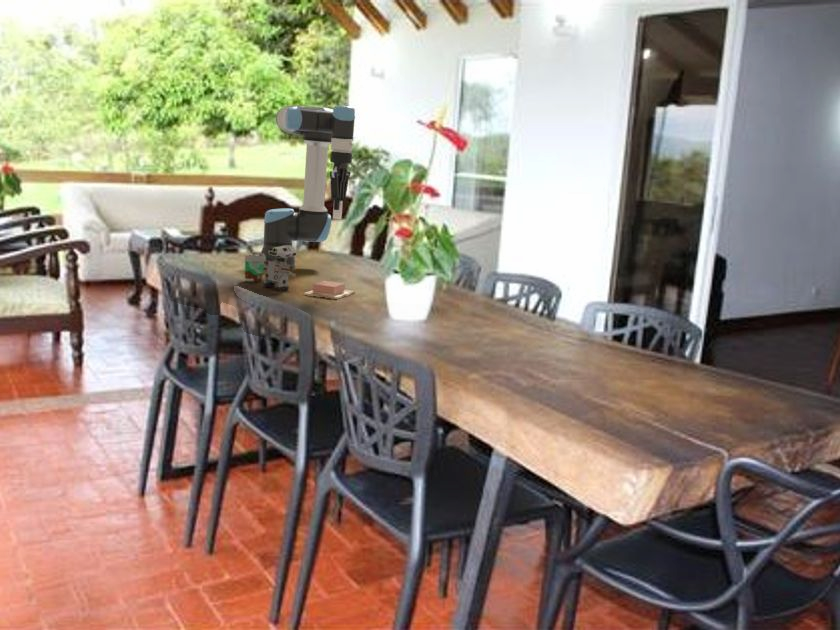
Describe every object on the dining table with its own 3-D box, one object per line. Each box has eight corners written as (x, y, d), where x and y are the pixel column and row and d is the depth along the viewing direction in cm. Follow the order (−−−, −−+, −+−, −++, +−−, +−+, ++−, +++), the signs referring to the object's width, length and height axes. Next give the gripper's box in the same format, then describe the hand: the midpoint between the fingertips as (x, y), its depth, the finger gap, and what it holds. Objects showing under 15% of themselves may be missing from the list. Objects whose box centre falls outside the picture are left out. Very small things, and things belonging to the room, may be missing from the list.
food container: (261, 285, 298) (262, 257, 296) (243, 283, 298) (245, 255, 296) (268, 279, 310) (269, 252, 308) (251, 278, 310) (252, 251, 308)
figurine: (301, 289, 296) (303, 247, 293) (275, 291, 287) (277, 248, 284) (285, 285, 302) (287, 243, 299) (259, 287, 293) (261, 244, 290)
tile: (324, 280, 295) (312, 283, 286) (344, 283, 292) (334, 286, 284) (323, 289, 295) (312, 292, 287) (344, 292, 293) (333, 295, 284)
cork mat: (323, 288, 300) (323, 286, 300) (354, 293, 297) (354, 291, 296) (303, 295, 285) (303, 292, 285) (336, 299, 282) (336, 297, 281)
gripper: (343, 152, 286) (339, 221, 290) (358, 152, 298) (354, 219, 303) (323, 150, 288) (319, 219, 293) (339, 150, 300) (335, 216, 305)
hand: (337, 218), depth 298 cm, fingers closed
